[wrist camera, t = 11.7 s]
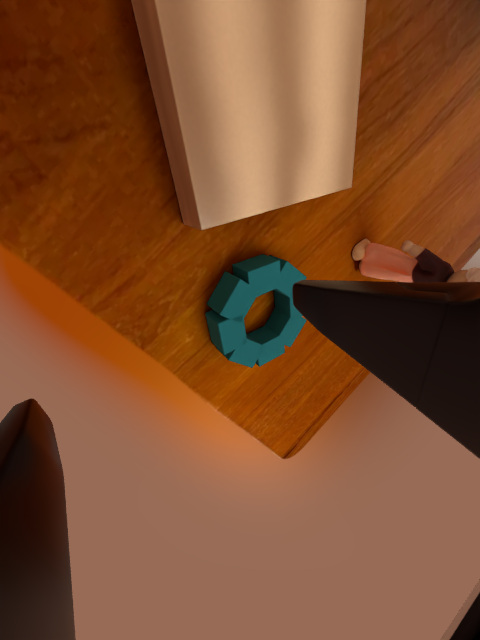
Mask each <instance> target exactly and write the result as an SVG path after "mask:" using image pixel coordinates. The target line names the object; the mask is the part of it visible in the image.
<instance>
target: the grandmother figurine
mask: <svg viewBox="0 0 480 640" xmlns="http://www.w3.org/2000/svg"><path fill="white" fill-rule="evenodd" d="M401 248H402V250H403V251H405V252H408V253H409V254H410V255H411V256H413V257H415V258H411V257H409V256H407V255H406V254H404V253H402V252H400V251H398V250H396V249H394V248H391V247H387V246H383V245H380V244H376V243H370V241H369V240H368V239H364V240H362V241H361V242H359V243H358V244H357V245H356V246H355V247H354V249H353V252H352V257H353V259H354V260H361V259H362V260H361V262H360V264H359V270H360V271H361V274H362V275H364V276H368V277H373V278H379V279H386V280H394V281H400V282H480V268H471V269H469V270H460V271H457V272H455V273H454V271H453V268H452V267H451V265H450V264H449V263H447V262H445V261H443V260H442V259H440V258H439V257H438V256H436V255H435V254H433V253H432V252H430V251H429V250H428V249H425V248H422V247H421V246H419V245H415V244H414V243H413V242H412V241H405V242H404V243H403V244H402V246H401Z"/></svg>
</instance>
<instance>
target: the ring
mask: <svg viewBox="0 0 480 640" xmlns="http://www.w3.org/2000/svg"><path fill="white" fill-rule="evenodd" d="M232 267H233V274H234V275H232V274H230V273H228V272H226V271H225V272H224V274H223V276H222V277H221V279H220V281H219V283H218V285H217V286H216V288H215V290H214V292H213V293H212V295H211V297H210V299H209V300H208V302H207V305H208V306H209V307H211V308H212V309H213V310H211V311H209V312H206V313H205V315H206V319H207V324H208V328H209V332H210V337H211V341H212V343H213V344H214V345H215V346H216V348H217V349H218V350H219V351H220V352H221V353H222V354H223V355H224V356H225V357H226V358H227V359H228V360H230V361H233V362H236V363H239V364H242V365H245V366H248V367H251V368H253V366H254V365H255V363H256V364H257V365H258V366H259V367H260V366H262V365H263V364H265V363H267V362H269V361H271V360H272V359H274V358H276V357H278V356H280V355H281V354H283V353H285V348H284V345H287V346H289V347H291V345H292V344H293V342H294V340H295V339H296V337H297V335H298V334H299V332H300V330H301V329H302V327H303V325H304V324H305V322H306V321H307V320H306V319H304V318H303V317H301V316H303V315H302V314H301V313H300V312H299V311H298V310H297V309H296V308H295V307H294V305H293V290H292V287H293V284H294V283H296V282H299V281H301V280H305V279H306V276H305V275H303V274H302V273H301V272H300V271H299V270H297V269H296V268H295V267H294V266H292V265H291V264H290V263H289V262H287V261H285V260H282V259H280V258H277V257H274V256H271V255H269V256H267V255H264V254H261V255H258V256H256V257H253V258H250V259H247V260H244V261H241V262H239V263H236V264H233V265H232ZM271 290H274V302H275V309H274V310H273V312H272V314H271V315H270V317H269V319H268V321H267V322H266V324H265V326H263V327H261V328H259V329H257V330H255V331H252V332H250V333H248V334H247V333H246V332H245V325H244V317H245V316H246V314H247V312H248V310H249V309H250V307H251V305H252V304H253V302H254V300H255V298H256V297H257V296H260V295H262V294H264V293H267V292H269V291H271Z"/></svg>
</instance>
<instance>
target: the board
mask: <svg viewBox="0 0 480 640" xmlns="http://www.w3.org/2000/svg"><path fill="white" fill-rule="evenodd" d="M131 2H132V6H133V11H134V15H135V19H136V23H137V28H138V32H139V36H140V40H141V45H142V49H143V53H144V57H145V62H146V66H147V70H148V74H149V79H150V83H151V87H152V92H153V96H154V100H155V104H156V109H157V113H158V117H159V121H160V126H161V130H162V134H163V138H164V143H165V147H166V151H167V155H168V160H169V164H170V168H171V173H172V177H173V181H174V185H175V190H176V194H177V198H178V202H179V207H180V211H181V215H182V219H183V223H184V224H185V225H188V226H191V227H194V228H197V229H200V230H204V229H208V228H211V227H215V226H218V225H222V224H225V223H229V222H232V221H236V220H239V219H243V218H246V217H250V216H253V215H257V214H260V213H264V212H267V211H271V210H274V209H278V208H281V207H285V206H288V205H292V204H295V203H299V202H302V201H306V200H309V199H313V198H316V197H320V196H323V195H327V194H330V193H334V192H337V191H341V190H344V189H348V188H351V187H352V176H353V164H354V151H355V138H356V125H357V112H358V99H359V87H360V74H361V61H362V48H363V35H364V22H365V10H366V0H131Z"/></svg>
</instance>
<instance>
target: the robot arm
mask: <svg viewBox="0 0 480 640" xmlns="http://www.w3.org/2000/svg"><path fill="white" fill-rule="evenodd" d="M292 290H293V305H294V307H295V308H296V309H297V310H298V311H299V312H300V313H301V314H302V315H303V316H304V317H305V318H306V319H307V320H308V321H309V322H310V323H311V324H312V325H313V326H314V327H315V328H316V329H318V330H319V331H320V332H321V333H322V334H323V335H325V336H326V337H327V338H328V339H330V340H331V341H332V342H333V343H335V344H336V345H337V346H338V347H340V348H341V349H342V350H343V351H345V352H346V353H347V354H348V355H350V356H351V357H352V358H354V359H355V360H356V361H357V362H359V363H360V364H361V365H362V366H364V367H365V368H366V369H367V370H369V371H370V372H371V373H372V374H374V375H375V376H376V377H378V378H379V379H380V380H381V381H383V382H384V383H385V384H386V385H388V386H389V387H390V388H392V389H393V390H394V391H395V392H396V393H398V394H399V395H400V396H402V397H403V398H404V399H405V400H406V401H408V402H409V403H410V404H412V405H413V406H414V407H416V409H418V410H419V411H420V412H421V413H423V414H424V415H425V416H426V417H428V418H429V419H430V420H431V421H433V422H434V423H435V424H436V425H438V426H439V427H440V428H441V429H443V430H444V431H445V432H447V433H448V434H449V435H450V436H452V437H453V438H454V439H456V440H457V441H458V442H459V443H460V444H462V445H463V446H464V447H465V448H467V449H468V450H469V451H470V452H472V453H473V454H474V455H476V456H477V457H478V458H479V459H480V282H397V283H396V282H372V281H327V280H301V281H299V282H296V283H294V284H293V287H292ZM0 640H76V639H75V626H74V612H73V598H72V584H71V570H70V556H69V543H68V528H67V515H66V500H65V486H64V476H63V469H62V464H61V460H60V455H59V451H58V447H57V442H56V438H55V433H54V429H53V425H52V422H51V420H50V418H49V417H48V415H47V414H46V413H45V412H44V410H43V409H42V408H41V406H40V405H39V404H38V403H37V401H36V400H34V399H28V400H26V401H24V402H22V403H19V404H17V405H15V406H14V407H13V408H12V409H11V410H10V411H9V413H8V414H7V415H6V416H5V418H4V419H3V420H2V421H1V423H0ZM441 640H480V580H479V581H478V583H477V585H476V586H475V587H474V589H473V591H472V592H471V594H470V595H469V597H468V598H467V600H466V601H465V603H464V604H463V606H462V607H461V609H460V610H459V612H458V613H457V615H456V617H455V618H454V620H453V621H452V623H451V624H450V626H449V627H448V629H447V630H446V632H445V633H444V635H443V636H442V638H441Z"/></svg>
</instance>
